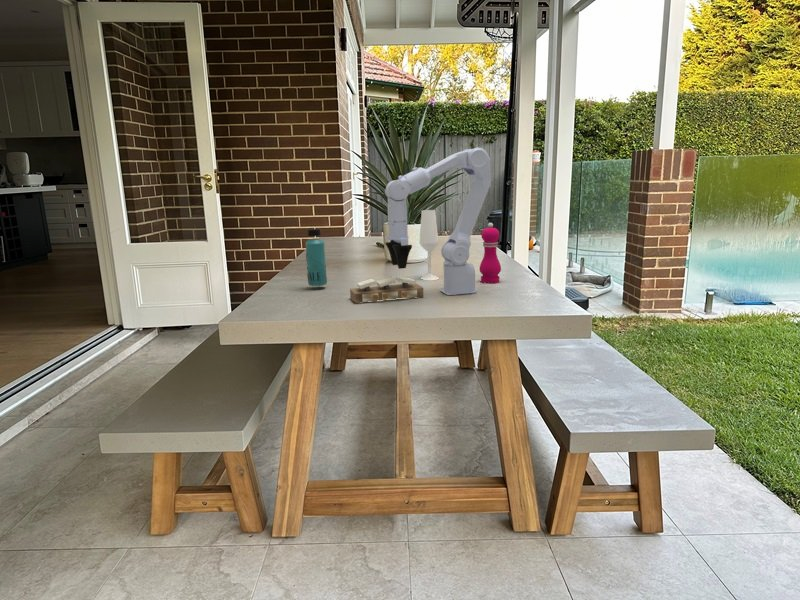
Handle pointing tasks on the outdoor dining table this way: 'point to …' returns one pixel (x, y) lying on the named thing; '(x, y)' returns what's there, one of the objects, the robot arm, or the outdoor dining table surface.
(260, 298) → the outdoor dining table surface
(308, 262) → the beverage bottle
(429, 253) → the champagne flute
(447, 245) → the robot arm
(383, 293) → the switch unit
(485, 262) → the pepper mill
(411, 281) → the switch
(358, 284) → the switch
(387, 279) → the switch
